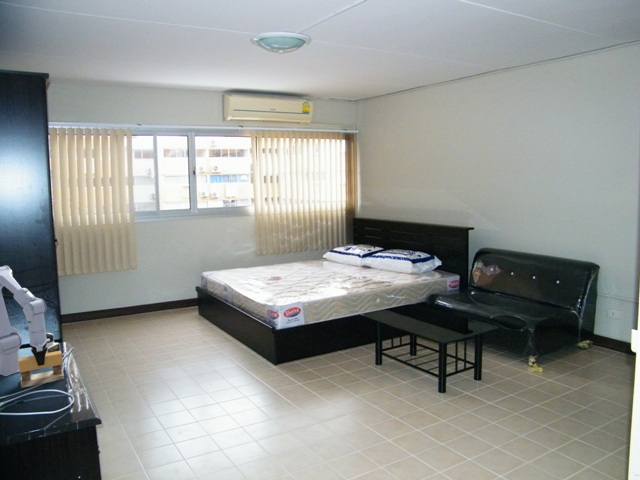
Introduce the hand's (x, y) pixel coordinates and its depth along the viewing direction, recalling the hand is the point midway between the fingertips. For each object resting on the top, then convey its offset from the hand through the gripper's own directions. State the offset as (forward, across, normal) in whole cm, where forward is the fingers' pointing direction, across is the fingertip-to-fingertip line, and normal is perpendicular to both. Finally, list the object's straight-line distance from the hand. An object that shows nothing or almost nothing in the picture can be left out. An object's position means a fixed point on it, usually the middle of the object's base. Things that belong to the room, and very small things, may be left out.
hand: (40, 363), depth 206 cm
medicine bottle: (+7, +22, -3) cm, 24 cm away
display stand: (+7, 0, 0) cm, 7 cm away
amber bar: (+1, 0, 0) cm, 1 cm away
